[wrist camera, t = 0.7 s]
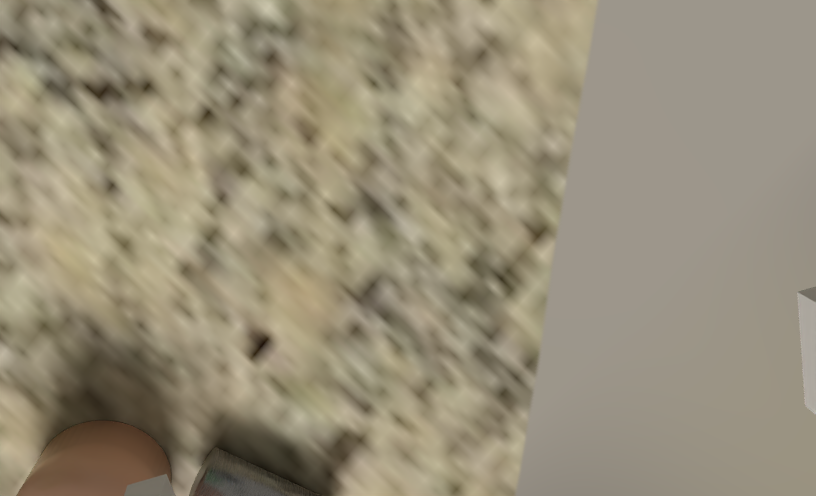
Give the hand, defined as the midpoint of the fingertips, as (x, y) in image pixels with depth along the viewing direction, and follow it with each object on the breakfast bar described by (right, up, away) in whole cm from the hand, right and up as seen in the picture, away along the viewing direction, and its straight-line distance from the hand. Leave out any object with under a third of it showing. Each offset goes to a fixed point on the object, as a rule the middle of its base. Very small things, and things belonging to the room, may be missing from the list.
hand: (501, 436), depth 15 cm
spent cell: (-10, -10, +27) cm, 30 cm away
